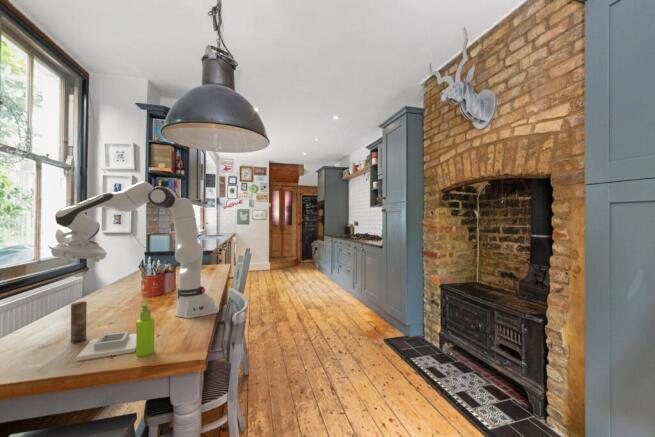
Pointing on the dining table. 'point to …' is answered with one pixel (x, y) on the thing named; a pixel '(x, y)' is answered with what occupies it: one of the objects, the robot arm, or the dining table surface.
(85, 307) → the walnut leg
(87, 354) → the stool seat
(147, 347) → the soap dispenser
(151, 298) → the dining table surface
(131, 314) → the dining table surface
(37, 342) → the dining table surface
